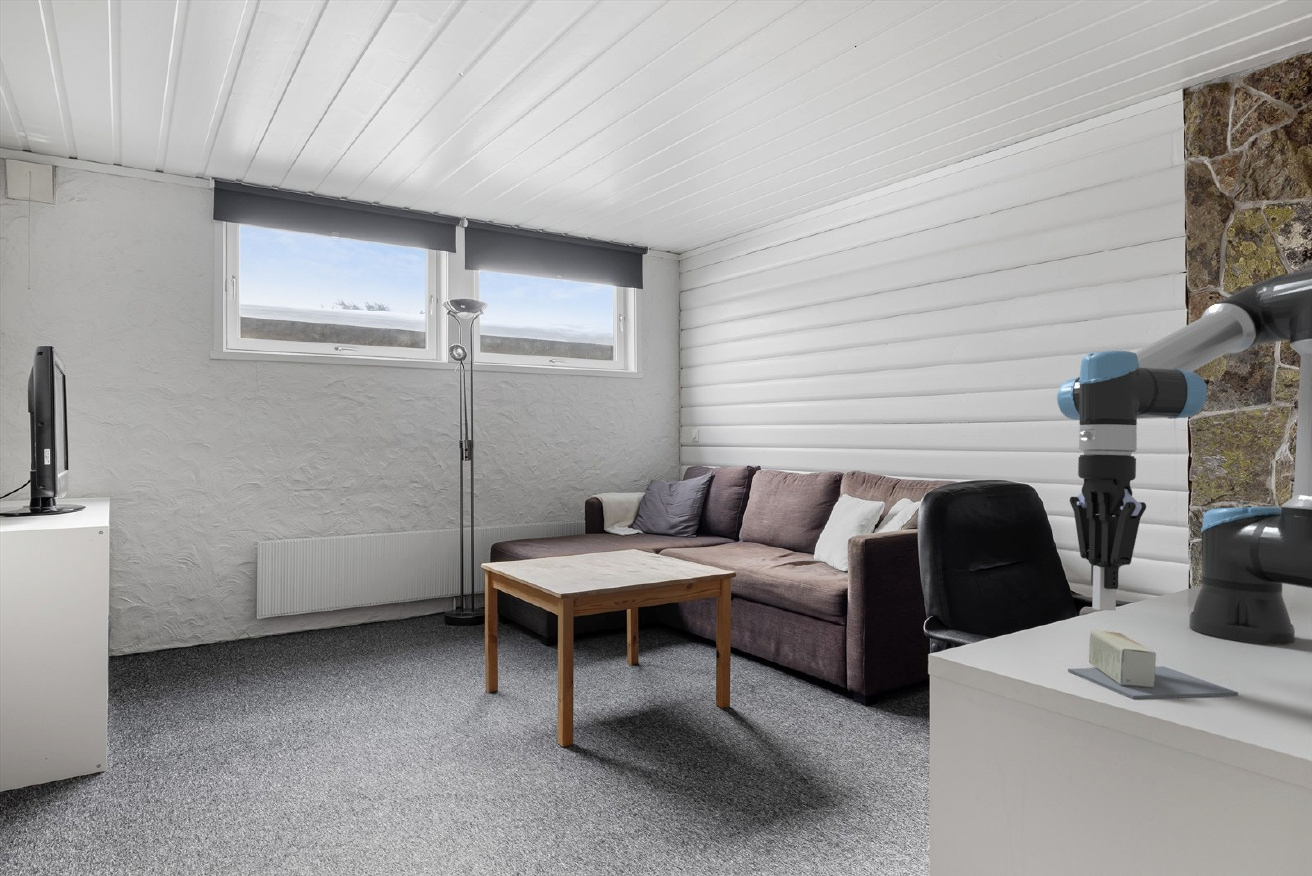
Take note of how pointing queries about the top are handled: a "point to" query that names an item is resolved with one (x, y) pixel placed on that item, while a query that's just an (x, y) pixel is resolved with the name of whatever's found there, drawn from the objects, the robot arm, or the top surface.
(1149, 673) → the box
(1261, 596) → the robot arm
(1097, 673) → the mat
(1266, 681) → the top surface
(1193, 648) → the top surface
